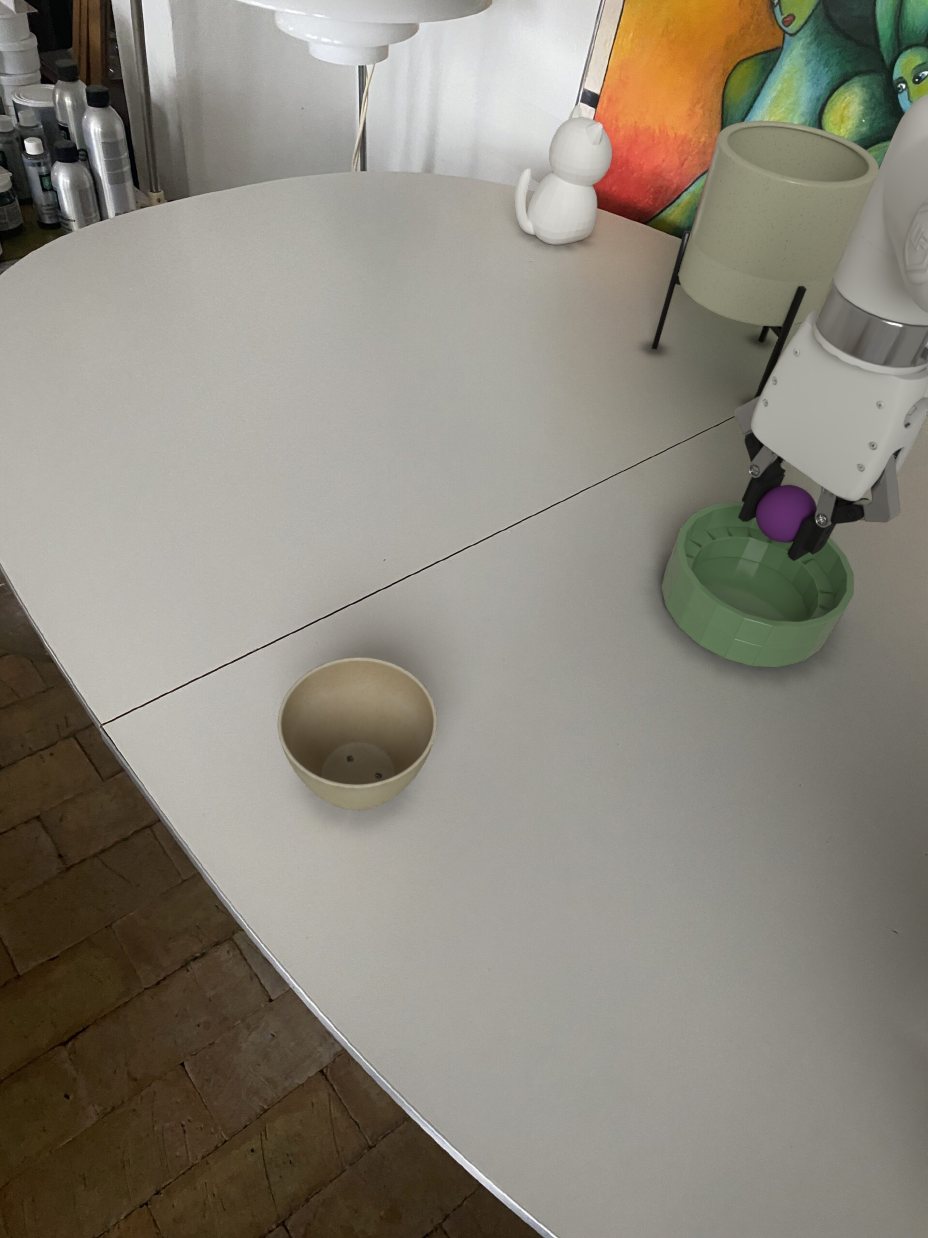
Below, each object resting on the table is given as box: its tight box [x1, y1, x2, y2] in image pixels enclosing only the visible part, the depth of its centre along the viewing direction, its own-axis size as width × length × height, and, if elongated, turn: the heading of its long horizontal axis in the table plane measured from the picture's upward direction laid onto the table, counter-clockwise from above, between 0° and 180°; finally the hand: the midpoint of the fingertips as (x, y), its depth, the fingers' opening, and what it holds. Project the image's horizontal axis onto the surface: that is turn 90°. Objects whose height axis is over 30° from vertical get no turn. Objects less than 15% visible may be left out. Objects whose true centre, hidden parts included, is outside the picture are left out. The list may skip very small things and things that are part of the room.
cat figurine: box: [514, 104, 613, 246], centre depth 112 cm, size 9×12×15 cm
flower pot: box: [277, 656, 438, 811], centre depth 58 cm, size 10×10×7 cm
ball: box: [756, 484, 817, 543], centre depth 67 cm, size 4×4×4 cm
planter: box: [651, 120, 880, 399], centre depth 91 cm, size 15×16×23 cm
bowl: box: [661, 501, 855, 668], centre depth 72 cm, size 14×14×6 cm
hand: (777, 531), depth 68 cm, fingers closed on ball, 4 cm apart
